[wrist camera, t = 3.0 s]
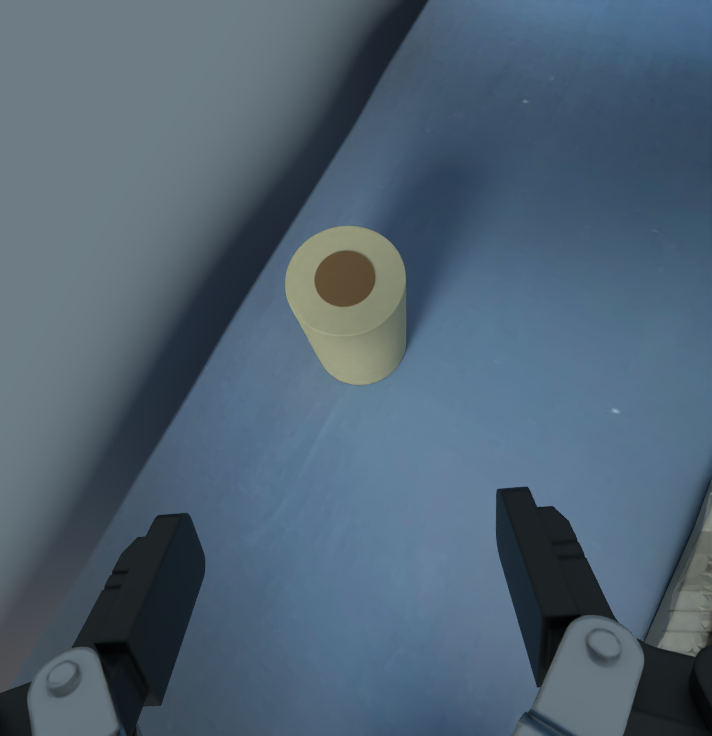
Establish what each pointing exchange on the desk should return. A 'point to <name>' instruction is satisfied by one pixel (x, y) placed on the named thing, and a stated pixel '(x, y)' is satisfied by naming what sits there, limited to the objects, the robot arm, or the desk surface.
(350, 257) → the toilet paper roll
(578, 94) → the desk surface
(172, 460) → the desk surface
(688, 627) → the packaged product
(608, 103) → the desk surface
